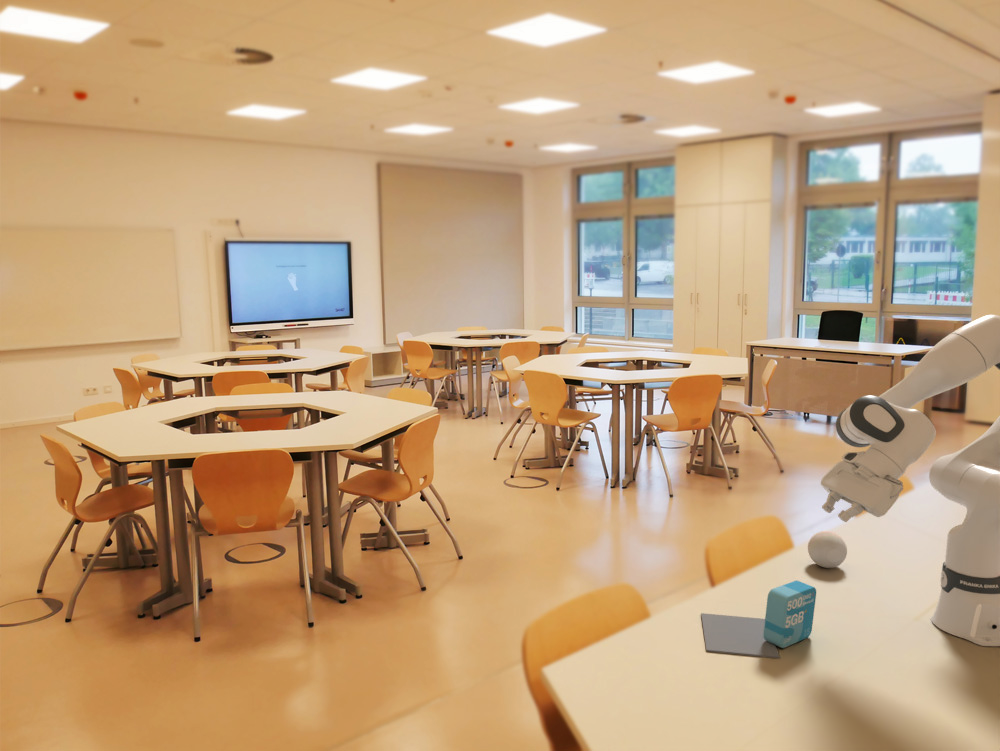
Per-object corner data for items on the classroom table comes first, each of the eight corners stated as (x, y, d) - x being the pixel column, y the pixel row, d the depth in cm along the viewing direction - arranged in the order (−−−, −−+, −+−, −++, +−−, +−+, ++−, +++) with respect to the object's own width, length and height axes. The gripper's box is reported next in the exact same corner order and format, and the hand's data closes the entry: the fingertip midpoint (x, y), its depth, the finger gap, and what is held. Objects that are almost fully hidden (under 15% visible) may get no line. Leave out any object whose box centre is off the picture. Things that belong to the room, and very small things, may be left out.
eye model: (836, 559, 219) (839, 526, 217) (852, 574, 209) (854, 538, 207) (801, 559, 219) (803, 525, 217) (814, 573, 209) (817, 538, 207)
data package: (780, 650, 166) (786, 597, 164) (762, 641, 170) (767, 589, 168) (811, 636, 173) (817, 586, 171) (793, 628, 177) (799, 578, 175)
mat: (767, 620, 181) (767, 619, 181) (779, 658, 163) (779, 656, 163) (701, 614, 184) (701, 613, 184) (706, 651, 166) (706, 649, 166)
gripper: (916, 493, 163) (870, 540, 163) (857, 468, 183) (816, 510, 183) (898, 473, 162) (852, 520, 162) (841, 450, 182) (800, 492, 182)
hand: (833, 514), depth 172 cm, fingers open, 5 cm apart
